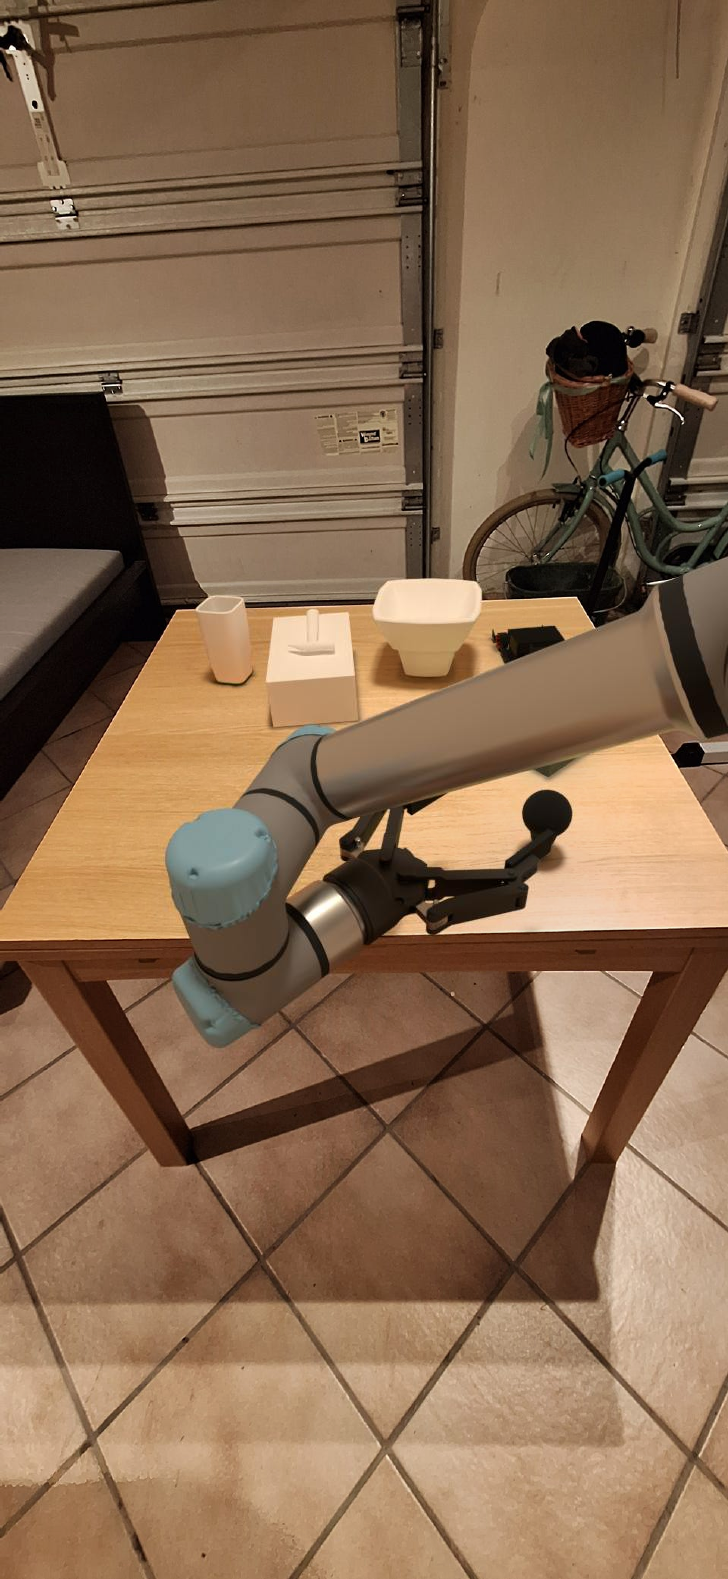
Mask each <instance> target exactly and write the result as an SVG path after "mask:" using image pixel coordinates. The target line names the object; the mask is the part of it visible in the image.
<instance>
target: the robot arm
mask: <svg viewBox="0 0 728 1579" xmlns="http://www.w3.org/2000/svg"><path fill="white" fill-rule="evenodd" d="M673 731H682V732H684V733H686V734H688V735H691V736H693V737H694V738H697V739H699V740H701V741H704V740H709V739H713V738H716V737H721V736H725V735H728V556H726V557H723V558H720V559H718V560H715V561H713V562H710V563H708V564H705V565H703V566H700V567H698V568H696V569H693V570H690V571H688V572H686V573H684V574H681V575H679V576H676V577H674V578H672V579H669V580H667V581H664V582H662V583H659V584H657V585H655V586H653V588H652V590H651V591H650V592H649V595H648V597H647V599H646V600H645V601H644V603H643V605H642V607H641V608H640V609H639V610H638V611H635V612H633V613H630V614H628V615H626V616H623V617H620V618H618V619H615V620H612V621H610V622H608V623H605V624H603V625H600V626H598V627H595V628H593V629H590V630H587V631H585V632H583V633H579V634H577V635H574V636H573V637H569V638H568V639H565V640H564V641H562V642H559V643H557V644H554V645H552V646H549V647H547V648H544V649H542V650H539V651H537V652H534V653H532V654H529V655H526V656H524V657H521V658H519V659H516V660H514V661H511V662H509V663H506V662H505V663H503V664H501V665H499V666H495V667H494V668H490V669H489V670H486V671H484V672H481V673H479V674H475V675H474V676H471V677H468V678H466V679H463V680H461V681H458V682H456V683H453V684H450V685H448V686H445V687H443V688H440V689H438V690H436V691H435V690H434V691H433V692H430V693H428V694H425V695H423V696H420V697H418V698H415V699H413V700H411V701H408V702H405V703H403V704H400V705H397V706H395V707H393V708H390V709H386V710H385V711H381V712H380V713H378V714H375V715H372V716H370V717H367V718H365V719H361V720H358V721H356V722H353V723H352V724H350V725H347V726H344V727H342V728H339V729H335V728H333V727H330V726H327V725H323V726H322V725H316V724H308V725H302V726H301V727H298V728H297V729H295V730H294V731H293V732H292V733H290V734H289V736H288V737H287V738H286V739H285V740H284V741H282V742H281V743H279V744H278V745H277V746H276V747H275V749H274V751H273V752H271V754H270V756H269V758H268V760H267V761H266V763H265V764H264V765H263V767H262V768H261V770H260V771H259V772H258V773H257V775H256V776H255V777H254V779H253V780H252V782H251V783H250V784H249V786H248V787H247V788H246V790H245V791H244V792H243V793H242V795H241V796H240V797H239V799H238V800H237V801H236V802H235V804H234V805H233V806H232V807H231V808H230V807H229V808H227V807H226V808H223V807H222V808H215V809H211V810H207V811H205V812H202V813H200V814H198V816H197V818H196V819H194V820H192V821H186V822H184V823H183V824H181V825H180V826H179V827H178V828H177V830H175V831H174V833H173V834H172V836H171V838H170V839H169V841H168V843H167V846H166V849H165V853H164V854H165V855H164V863H165V864H164V865H165V869H166V871H167V872H166V873H167V876H168V883H169V886H170V887H169V888H170V890H171V892H170V894H171V899H172V901H173V904H174V907H175V909H176V910H177V912H178V913H179V915H180V917H181V920H182V923H183V925H184V928H185V930H186V933H187V936H188V938H189V941H190V944H191V946H192V948H193V956H190V957H188V958H187V960H186V961H185V962H183V964H181V965H180V966H179V967H177V968H176V969H175V970H174V971H173V973H172V976H171V983H172V987H173V990H174V992H175V995H176V997H177V999H178V1000H179V1003H180V1004H181V1006H182V1009H183V1010H184V1012H185V1013H186V1015H187V1016H188V1018H189V1020H190V1021H191V1023H192V1025H193V1026H194V1028H195V1029H196V1031H197V1032H198V1034H199V1035H200V1036H201V1038H202V1039H203V1040H204V1041H205V1043H206V1044H208V1045H209V1046H210V1047H212V1048H216V1049H223V1048H226V1047H228V1046H231V1045H232V1044H233V1043H234V1042H236V1041H238V1040H240V1038H242V1037H244V1036H245V1035H246V1034H248V1033H250V1032H252V1031H253V1030H257V1029H260V1028H261V1027H263V1024H264V1023H265V1022H267V1021H268V1020H269V1019H271V1018H272V1017H274V1016H275V1015H276V1014H277V1013H279V1012H280V1011H281V1010H283V1009H284V1008H286V1007H287V1006H288V1005H290V1004H291V1003H292V1002H294V1001H295V1000H296V999H298V998H299V997H300V996H302V995H303V994H304V993H306V992H307V991H309V990H310V989H311V988H313V987H314V986H315V985H317V984H318V983H319V982H321V980H322V979H324V978H325V977H326V976H328V975H329V974H331V973H332V972H333V971H335V970H336V969H338V968H339V967H340V966H342V965H343V964H344V963H346V962H348V961H349V960H351V959H352V958H353V957H354V956H355V955H357V954H359V953H360V952H361V951H362V950H363V948H364V946H370V945H372V944H374V942H376V941H377V940H379V939H380V938H381V937H383V936H384V935H385V934H387V933H388V932H390V931H391V930H393V929H394V928H395V927H396V926H397V925H398V924H399V923H400V922H401V921H402V920H403V919H404V918H405V917H407V916H411V915H417V917H419V918H420V920H422V922H424V924H425V932H426V934H428V935H430V936H436V935H438V934H440V933H441V932H443V931H445V930H446V929H448V928H450V927H451V926H455V925H459V924H465V923H469V922H473V921H477V920H482V919H486V918H490V917H495V916H500V915H505V914H508V913H512V912H517V911H521V910H525V908H526V906H527V901H528V895H529V889H530V887H529V885H528V884H527V883H526V882H527V881H528V880H530V878H532V877H533V876H535V875H536V874H537V872H538V870H539V866H540V861H541V860H543V859H544V858H545V856H546V855H548V854H549V853H550V854H551V852H552V849H553V844H554V843H553V838H554V832H553V831H551V830H549V829H547V830H546V831H545V832H543V833H542V834H541V835H539V836H538V837H537V838H535V839H534V840H533V841H532V840H531V841H530V842H529V843H527V844H526V845H524V846H523V847H522V848H521V849H519V850H517V851H516V852H515V853H513V854H512V855H510V857H508V858H507V859H506V860H504V866H503V867H504V868H503V867H502V868H473V869H470V868H469V869H444V868H443V867H441V866H428V863H426V862H425V861H424V860H422V858H421V859H420V858H419V857H416V856H415V855H414V854H413V852H412V851H411V850H410V849H408V848H407V847H404V848H402V847H399V844H400V843H399V842H400V838H401V833H402V827H403V821H404V816H405V810H406V813H407V814H408V815H410V816H413V815H416V814H417V813H418V812H420V811H421V810H423V809H424V808H427V807H429V806H430V805H431V804H433V803H434V802H436V801H437V800H439V799H441V798H443V797H444V796H446V795H448V794H449V793H452V792H456V791H461V790H463V789H466V788H470V787H474V786H478V785H482V784H484V783H485V784H486V783H488V782H492V781H496V780H499V779H504V778H507V777H511V776H515V775H518V774H521V773H525V772H529V771H533V770H535V769H536V768H540V767H543V766H547V765H551V764H554V763H558V762H561V761H565V760H569V759H572V758H575V759H577V758H579V757H583V756H587V755H590V754H594V753H598V752H601V751H604V750H608V749H611V748H615V747H619V746H622V745H626V744H630V743H635V742H637V741H641V740H644V739H648V738H652V737H656V736H658V735H659V736H660V735H663V734H667V733H670V732H673ZM388 810H389V812H388ZM387 812H388V817H387V822H386V826H385V831H384V833H383V837H382V842H381V846H380V848H375V849H365V848H366V847H367V845H368V843H369V842H370V840H371V838H372V837H373V835H374V833H375V832H376V830H377V829H378V827H379V825H380V824H381V822H382V820H383V819H384V817H385V816H386V813H387ZM354 819H357V821H356V823H355V824H354V826H353V827H352V829H351V830H349V831H348V832H346V833H345V834H343V835H342V836H341V837H340V838H339V840H338V845H339V855H340V860H341V861H342V862H343V863H341V864H340V865H338V866H336V867H335V868H333V869H331V871H329V872H327V873H325V874H324V875H323V876H322V880H321V879H317V880H313V881H312V882H311V883H309V884H307V885H305V886H304V887H303V888H301V889H299V890H298V891H297V892H295V893H294V894H292V895H291V896H289V895H290V893H291V891H292V889H293V888H294V887H295V885H296V883H297V881H298V880H299V877H300V876H301V874H302V872H303V871H304V869H305V867H306V865H307V863H308V862H309V860H310V858H311V857H312V855H313V854H314V851H316V849H317V847H318V845H319V844H320V842H321V840H322V839H323V837H324V836H325V834H326V832H327V830H328V829H330V827H332V826H334V825H337V824H342V823H345V822H349V821H351V820H354ZM552 843H553V844H552ZM550 854H549V855H550ZM549 855H548V856H549ZM546 857H547V856H546ZM430 881H434V885H433V886H432V887H429V885H430ZM444 898H446V899H444Z"/></svg>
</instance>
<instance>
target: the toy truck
mask: <svg viewBox="0 0 728 1579" xmlns="http://www.w3.org/2000/svg"><path fill="white" fill-rule="evenodd" d="M506 630H507V631H502V632H497V633H496V634H495V630H494V628H492V630H491V631H492V632H491V638H492V640H493V641H495V645H496V649H498V650H499V652H500V654H501V655H502V657H503V660H504V662H505V664H506V663H509V662H511V661H514V660H516V659H519V658H521V657H524V656H526V655H529V654H532V653H534V652H537V651H539V650H542V649H544V648H547V647H549V646H552V645H554V644H557V643H559V642H562V641H564V640H566V639H565V637H564V636H563V634H562V633H561V632H560V631H559V629H558V628H557V626H556V625H544V624H541V626H532V627H531V626H528V627H516V628H507V629H506Z"/></svg>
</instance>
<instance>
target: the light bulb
mask: <svg viewBox="0 0 728 1579" xmlns="http://www.w3.org/2000/svg"><path fill="white" fill-rule="evenodd" d="M521 817H522V821H523V824H524V826H525V827H526V829H527V830H528V831H529V834H530V839H531V841H533V840H534V839H535V838H537V837H538V836H539V835H541V834H542V833H543V832H545V831H546V830H547V829H549V830H551V831H553V832H554V838H553V843H552V845H554V843H555V842H556V839H557V837H559V836H561V835H562V834H563V833H565V832H566V831H567V830H568V828H570V825H571V824H572V820H573V808H572V805H571V803H570V801H569V799H568V798H567V797H566V796H565V795H564V794H562V793H561V792H559V791H557V790H554V789H540V790H537V791H535V792H533V793H532V794H530V795H529V796H528V797H527V798H526V800H525V801H524V803H523V805H522V809H521ZM550 854H551V852H550V853H549V854H548V855H546V856H545V857H548V856H549V855H550ZM545 857H544V858H545Z"/></svg>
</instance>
